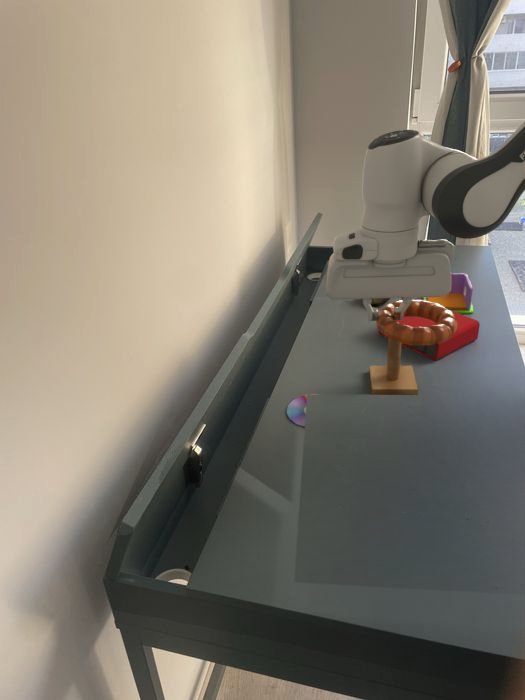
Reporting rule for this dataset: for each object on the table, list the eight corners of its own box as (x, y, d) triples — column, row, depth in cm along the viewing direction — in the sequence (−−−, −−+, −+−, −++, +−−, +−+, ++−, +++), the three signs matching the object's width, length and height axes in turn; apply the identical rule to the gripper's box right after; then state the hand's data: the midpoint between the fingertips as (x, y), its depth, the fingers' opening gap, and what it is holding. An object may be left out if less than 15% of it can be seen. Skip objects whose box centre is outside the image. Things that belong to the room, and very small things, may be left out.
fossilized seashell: (394, 301, 139) (396, 291, 148) (382, 279, 138) (385, 271, 147) (368, 313, 142) (372, 303, 151) (356, 292, 141) (361, 284, 150)
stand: (411, 371, 114) (415, 319, 108) (417, 395, 106) (422, 341, 100) (369, 371, 115) (371, 320, 109) (372, 395, 107) (374, 341, 101)
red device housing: (378, 333, 130) (378, 315, 127) (417, 315, 136) (418, 298, 134) (437, 361, 117) (439, 342, 114) (477, 340, 123) (480, 321, 121)
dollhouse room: (467, 294, 145) (470, 271, 141) (474, 314, 135) (478, 289, 131) (422, 294, 147) (424, 271, 144) (425, 313, 137) (428, 289, 133)
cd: (355, 408, 104) (355, 407, 104) (317, 436, 97) (317, 435, 97) (311, 387, 111) (311, 387, 111) (274, 412, 105) (274, 412, 104)
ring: (446, 312, 96) (448, 297, 94) (463, 349, 85) (466, 332, 83) (372, 311, 97) (373, 297, 96) (379, 348, 86) (380, 332, 84)
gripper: (452, 232, 85) (444, 309, 92) (325, 237, 88) (326, 312, 95) (461, 245, 80) (451, 326, 87) (325, 250, 82) (326, 329, 89)
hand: (385, 319), depth 91 cm, fingers closed on ring, 3 cm apart
